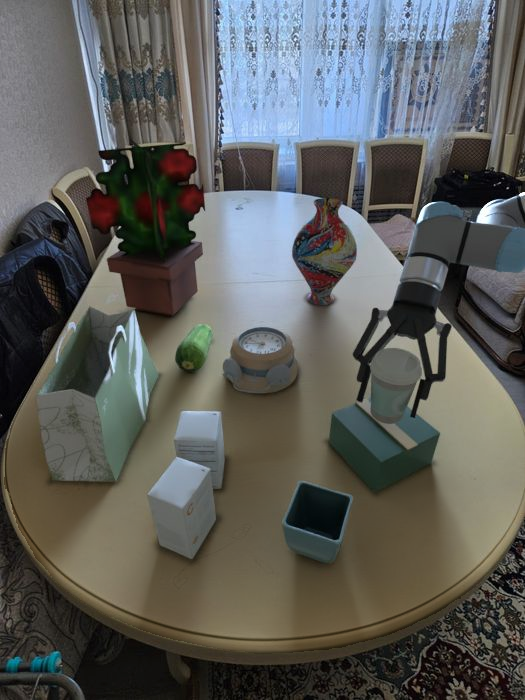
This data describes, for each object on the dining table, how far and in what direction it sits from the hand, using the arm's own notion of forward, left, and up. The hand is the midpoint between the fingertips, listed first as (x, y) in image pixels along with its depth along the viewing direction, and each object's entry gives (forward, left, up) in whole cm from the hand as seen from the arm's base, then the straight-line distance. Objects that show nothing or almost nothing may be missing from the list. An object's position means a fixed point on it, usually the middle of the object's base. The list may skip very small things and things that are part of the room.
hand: (385, 408), depth 77 cm
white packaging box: (+14, +29, -14) cm, 35 cm away
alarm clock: (+34, +6, -14) cm, 37 cm away
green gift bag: (+37, +41, -14) cm, 57 cm away
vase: (+60, -30, -14) cm, 68 cm away
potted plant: (+81, +14, -14) cm, 83 cm away
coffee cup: (+2, -3, -4) cm, 5 cm away
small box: (+4, +36, -14) cm, 39 cm away
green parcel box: (+2, -3, -14) cm, 14 cm away
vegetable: (+51, +15, -14) cm, 55 cm away
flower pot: (-8, +19, -14) cm, 25 cm away
